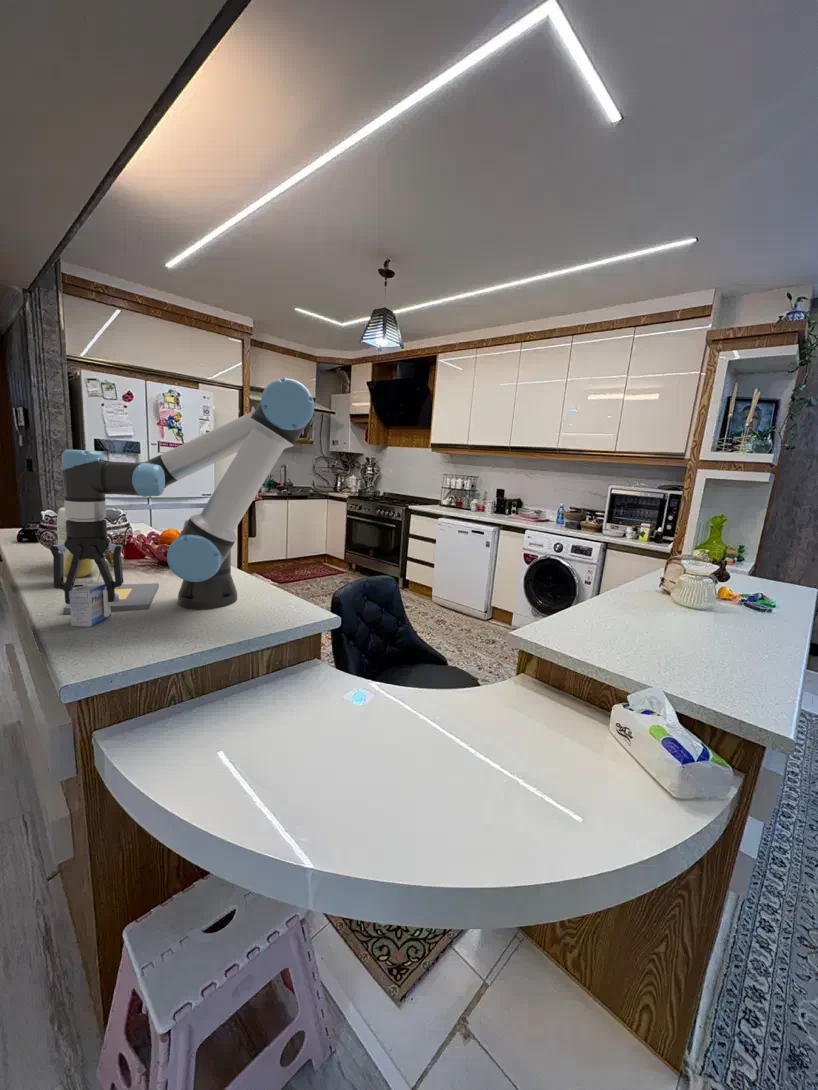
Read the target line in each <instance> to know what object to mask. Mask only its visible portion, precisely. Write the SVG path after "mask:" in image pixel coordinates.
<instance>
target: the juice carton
mask: <svg viewBox="0 0 818 1090" xmlns="http://www.w3.org/2000/svg"><path fill="white" fill-rule="evenodd" d="M67 520H69V518H67V517H65V505H64V506H61V507H60V508H58V510H57V515H56V533H57V544H58V545H59V544H63V543H65V541H66V539H67V536H66V521H67ZM63 556H64V583H66V579H67V576H68V573H69V570H70V566H71V561H72V558H73V554H72V553H71V552H70V551H69V550H68V549H67V548H65V552H64V553H63ZM100 576H101V573H100V571H99V568H98V566H97V564H96V563H95V561H94V560H91V559H84V560H82V561H81V563H80V566H79V569H78V573H77V576H76V579H75V582H74V587H76V586H75V585H85V584H88V583H90V582H99V578H100Z"/></svg>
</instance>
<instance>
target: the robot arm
mask: <svg viewBox="0 0 818 1090" xmlns="http://www.w3.org/2000/svg"><path fill="white" fill-rule="evenodd" d="M314 413H315V401H314V397H313V396H312V393H311V392H310V391H309V389H308V388H307V387H306V386H305V385H304V384H303V383H301V382H300V381H298V380H296V379H293V378H289V377H288V378H287V377H285V378H284V377H282V378H278V379H275V380H273V381H272V382H270V383H269V384H267V386H266V387H265V388H264V389H263V390H262V395H261V398H260V401H259V403H258V404H256V405H253V406H251V409H250V412H248V413H247V414H244V415H242V416H239V417H238V418H236V419H233V420H231V421H229V422H227V423H224V424H223V425H221V426H218V427H216V428H215V429H213V430H210V431H208V432H206V433H204V434H201V435H199V436H197V437H195V438H193V439H191V440H189V441H186V442H185V443H183V444H181V445H178V446H176V447H175V448H171V449H170V450H168V451H165V452H163V453H161V454H158V455H157V456H155V457H152V458H150V459H148V460H146V461H140V462H129V461H128V462H127V461H125V462H124V461H112V460H106V459H105V458H104V454H103V452H101V451H97V450H96V451H95V450H85V449H84V450H82V449H66V450H64V451H63V452H62V454H61V461H62V462H61V463H62V464H61V472H62V483H63V493H64V495H63V496H64V497H63V501H64V502H63V503H64V506H65V517H67V518H69V520H67V521H66V536H67V539H66V541H65V543H63V544H59V545H58V543H57V544H54V545H52V546H50V547H49V550H50V552H51V555H52V556H53V559H52V561H53V588H54V589H59V590H62V591H64V600H65V601H64V602H65V604H66V605H67V604H70V597H69V591H71V590H73V589H76V588H77V587H75V586H74V582H75V579H76V576H77V573H78V569H79V566H80V563H81V561H82V560H84V559H91V560H94V561H95V563H96V564H97V566H98V568H99V571H100V576H101V578H102V579H103V582H104V583H105V585H106V588H105V589H104V590H103V600H104V617H107V618H108V616H109V615H110V613H111V614H112V611H111V609H110V602H113V601H114V599H115V588H116V587H120V586H121V585H122V584H124V574H123V563H122V552H123V549H124V546H123V544H122V543H121V544H115V543H112V542H110V540H109V539H108V525H107V521H106V519H105V518H106V517H107V509H106V508H107V507H106V504H107V503H106V494H107V495H122V496H139V497H144V498H146V497H159V496H161V495H162V494H163V493H164V491H165V489H166V488H167V487H168V486H170V485H172V484H174V483H176V482H178V481H180V480H182V479H184V478H187V477H188V476H191V475H193V474H195V473H197V472H199V471H201V470H203V469H205V468H207V467H209V466H211V465H214V464H216V463H217V462H220V461H221V460H224V459H226V458H228V457H230V456H233V455H234V454H236V455H235V457H234V458H233V460H232V462H231V463H230V464H229V466H228V468H227V469H226V471H225V472H224V474H223V476H222V478H221V479H220V481H219V483H218V484H217V485H216V487H215V489H214V491H213V492H212V494H211V496H210V497H209V499H208V501H207V503H206V504H205V506H204V508H203V509H202V511H201V512H199V513H198V514H194V515H191V516H190V517H189V519H186V520H185V521H184V524H183V528H182V530H181V532H180V533H179V535H178V537H176V538H175V539H174V540H173V541H172V542H171V543H170V545H169V547H168V549H167V553H166V562H167V564H168V567H169V569H170V570H171V572H172V573H173V575H175V576H177V577H178V578H180V579H181V580H182V582H181V586H180V588H179V591H178V593H177V601H178V602H177V604H178V605H179V606H181V607H183V608H187V609H190V610H191V609H192V610H212V609H214V610H215V609H220V608H225V607H228V606H230V605H233V604H235V603H236V602H237V600H238V590H237V588H236V585H235V583H234V579H233V576H232V571H231V570H232V569H231V567H232V562H231V560H232V558H231V557H232V551H231V550H232V548H233V546H234V545H235V543H236V541H237V535H236V533H235V530H236V529H237V528H238V525H239V524H240V522H241V521H242V519H243V518H244V516H245V514H246V512H247V511H248V509H249V508H250V506H251V504H252V503H253V501H254V499H255V498H256V496H257V494H258V493H259V491H260V490H261V488H262V487H263V485H264V483H265V481H266V480H267V478H268V476H269V475H270V473H271V472H272V470H273V468H274V467H275V465H276V464H277V462H278V460H279V458H280V457H281V455H282V453H283V452H284V450H286V449H288V448H293V447H294V446H295V444H297V442H298V440H299V438H300V437H301V435H302V433H303V431H304V430H305V428H306V426H307V425H308V424H309V423H310V421H311V420H312V419H313V416H314ZM65 548H67V549H68V550H69V551H70V552H71V553H72V554H73V558H72V561H71V566H70V570H69V573H68V576H67V579H66V583H64V556H63V553H64V552H65ZM108 549H109V550H110V553H111V554H112V562H113V563H112V564H113V571H114V578H113V576H112V573H111V572H110V569H109V566H108V564H107V561H106V558H105V557H106V556H105V555H104V553H105V552H106V550H108ZM110 616H111V615H110ZM110 616H109V617H110Z"/></svg>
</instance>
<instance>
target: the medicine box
mask: <svg viewBox="0 0 818 1090" xmlns="http://www.w3.org/2000/svg"><path fill="white" fill-rule="evenodd" d="M75 588H76V589H73V590H71V591H69V597H70V611H71V614H70V619H71V620H70V621H71V622H70V624H71V626H72V627H83V628H84V627H85V628H87V627H88V628H91V627H92V628H93V627H94V626H96V624H98V623H101V622H102V621H104V620H105V619H106V618H108V617H110V616H111V614H112V612H111V613H110V615H109V616H108V617H104V600H103V590H104V589H105V588H106V585H105V583H104V581H97V582H90V583H88V584H85V585H83V586H78V587H75Z"/></svg>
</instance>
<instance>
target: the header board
mask: <svg viewBox="0 0 818 1090" xmlns="http://www.w3.org/2000/svg"><path fill="white" fill-rule="evenodd" d="M159 585H160V584H159V582H156V583H128V584H127V583H126V584H124V583H123V584H122V585H121V586H120V587H116V588H115V599H114V601H113V602H110V609H111V612H121V611H122V612H123V611H135V610H136V611H139V610H148V609H149V610H150V607H151V605H152V603H153V601H154V599H155V596H156V594H157V592H158V590H159ZM63 615H71V611H70V604H66V605H65V606H64V607H63Z"/></svg>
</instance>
